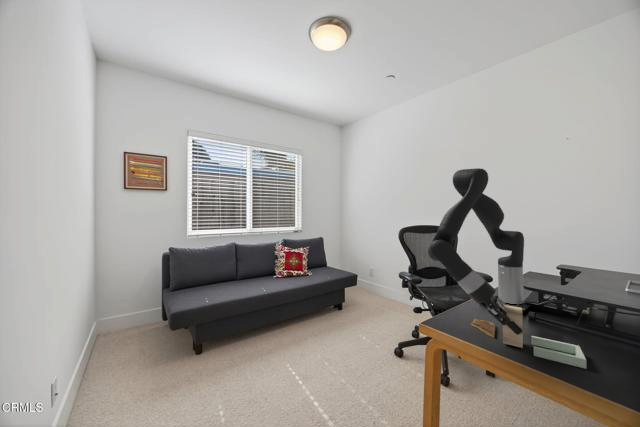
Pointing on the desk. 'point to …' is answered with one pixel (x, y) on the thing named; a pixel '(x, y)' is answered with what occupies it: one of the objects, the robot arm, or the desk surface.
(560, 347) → the tray
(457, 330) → the desk surface
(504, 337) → the oak block
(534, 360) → the desk surface
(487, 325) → the shard
